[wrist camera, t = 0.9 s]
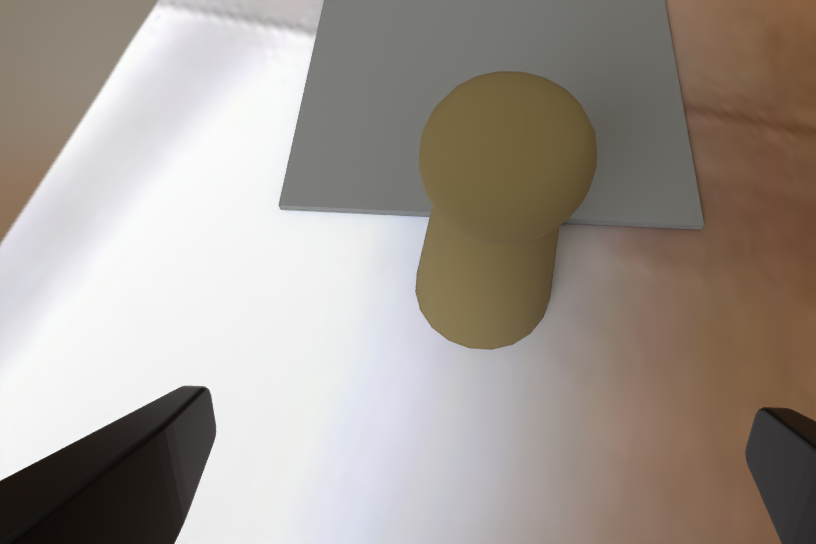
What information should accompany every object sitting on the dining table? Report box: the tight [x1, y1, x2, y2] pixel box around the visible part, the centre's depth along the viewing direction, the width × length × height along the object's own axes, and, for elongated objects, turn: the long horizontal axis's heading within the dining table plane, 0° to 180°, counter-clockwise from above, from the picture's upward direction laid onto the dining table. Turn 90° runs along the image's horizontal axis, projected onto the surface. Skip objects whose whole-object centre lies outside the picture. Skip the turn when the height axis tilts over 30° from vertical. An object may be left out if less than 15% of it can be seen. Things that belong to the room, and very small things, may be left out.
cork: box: [416, 71, 597, 350], centre depth 20 cm, size 6×6×11 cm
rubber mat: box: [279, 0, 704, 230], centre depth 29 cm, size 16×20×1 cm
